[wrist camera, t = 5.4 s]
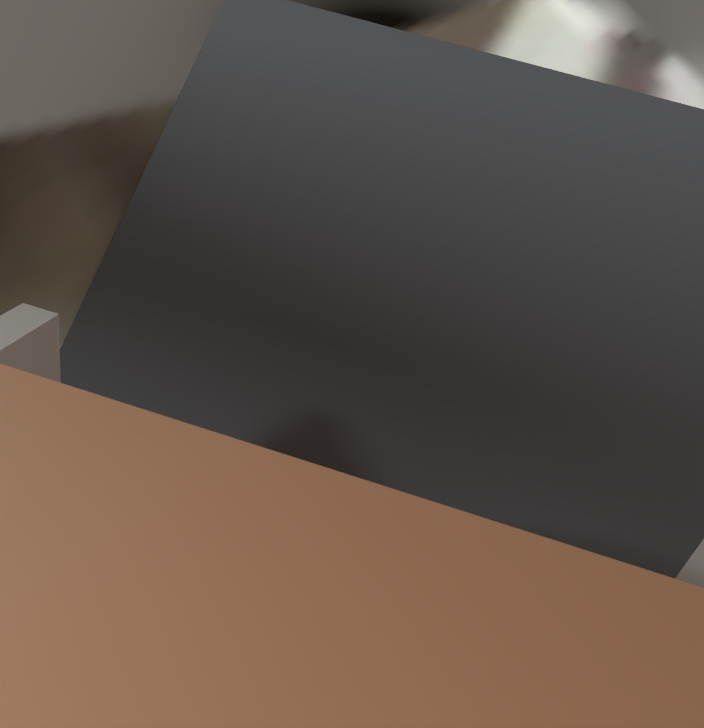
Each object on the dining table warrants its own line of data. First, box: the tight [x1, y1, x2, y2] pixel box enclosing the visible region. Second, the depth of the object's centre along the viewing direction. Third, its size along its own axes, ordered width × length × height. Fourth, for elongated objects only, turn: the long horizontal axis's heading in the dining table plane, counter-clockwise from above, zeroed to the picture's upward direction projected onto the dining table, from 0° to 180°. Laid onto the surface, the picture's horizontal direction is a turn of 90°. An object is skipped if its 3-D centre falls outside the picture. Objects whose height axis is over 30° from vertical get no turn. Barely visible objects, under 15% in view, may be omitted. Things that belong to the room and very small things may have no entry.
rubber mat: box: [60, 0, 704, 578], centre depth 17 cm, size 22×20×1 cm
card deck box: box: [0, 364, 704, 728], centre depth 10 cm, size 8×3×11 cm, turn 73°
